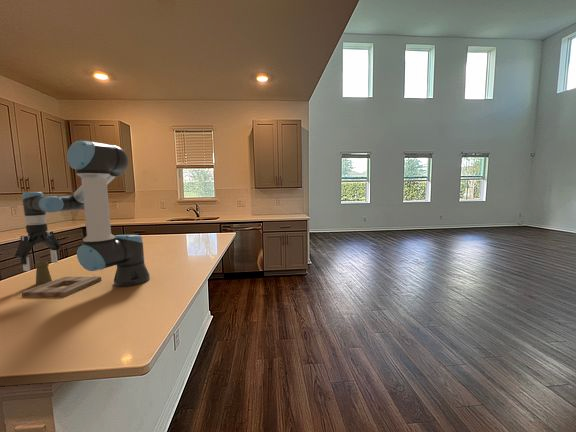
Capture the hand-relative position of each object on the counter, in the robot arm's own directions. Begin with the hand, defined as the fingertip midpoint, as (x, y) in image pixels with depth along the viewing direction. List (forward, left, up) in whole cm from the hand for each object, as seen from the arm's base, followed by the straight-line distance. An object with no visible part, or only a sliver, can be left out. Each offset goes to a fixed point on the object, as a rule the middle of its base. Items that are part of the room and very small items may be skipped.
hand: (41, 266), depth 131 cm
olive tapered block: (0, 0, -9) cm, 9 cm away
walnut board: (-18, +7, -8) cm, 21 cm away
